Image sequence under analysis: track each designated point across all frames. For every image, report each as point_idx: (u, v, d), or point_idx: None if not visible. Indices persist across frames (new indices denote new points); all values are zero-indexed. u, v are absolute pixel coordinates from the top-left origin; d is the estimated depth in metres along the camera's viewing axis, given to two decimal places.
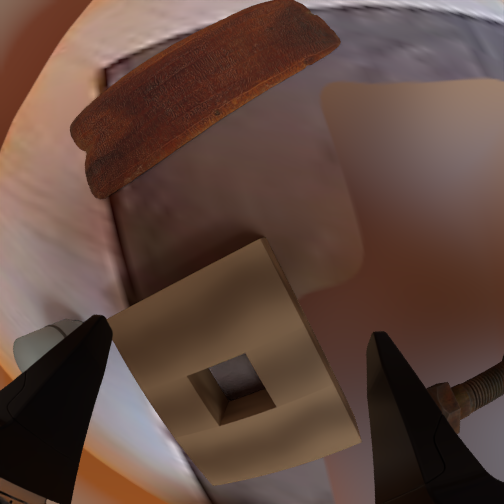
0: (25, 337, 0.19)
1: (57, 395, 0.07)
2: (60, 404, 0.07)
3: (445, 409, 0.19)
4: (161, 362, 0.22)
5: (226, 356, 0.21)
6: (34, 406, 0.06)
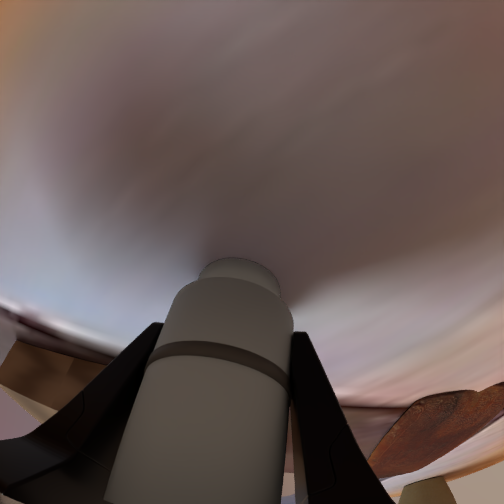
0: None
1: (122, 416, 0.07)
2: (124, 425, 0.07)
3: None
4: None
5: None
6: (99, 432, 0.06)
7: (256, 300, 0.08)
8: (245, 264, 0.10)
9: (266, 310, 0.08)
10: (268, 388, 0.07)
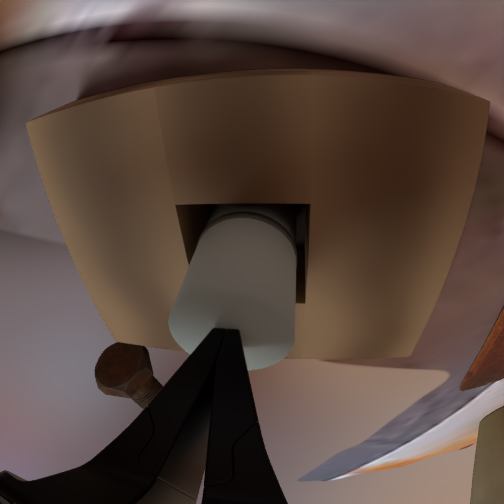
0: (283, 353, 0.10)
1: (193, 431, 0.07)
2: (194, 440, 0.07)
3: (127, 386, 0.21)
4: (360, 171, 0.10)
5: (313, 280, 0.13)
6: (175, 452, 0.06)
7: None
8: None
9: None
10: (282, 238, 0.11)
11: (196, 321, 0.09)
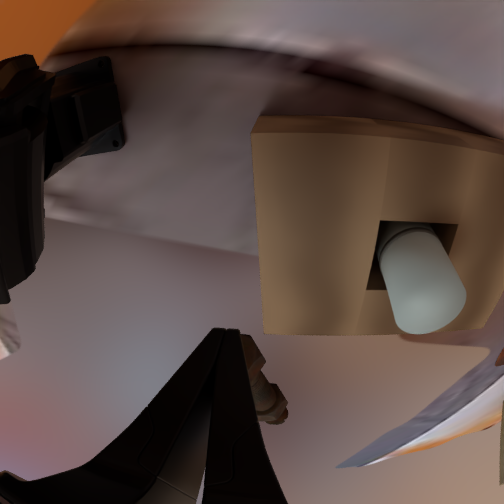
0: (450, 318, 0.14)
1: (193, 431, 0.07)
2: (194, 440, 0.07)
3: None
4: (486, 206, 0.14)
5: None
6: (175, 452, 0.06)
7: None
8: None
9: None
10: (442, 246, 0.15)
11: (418, 300, 0.13)
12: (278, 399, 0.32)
